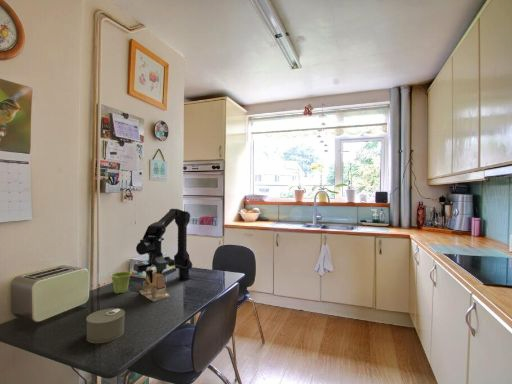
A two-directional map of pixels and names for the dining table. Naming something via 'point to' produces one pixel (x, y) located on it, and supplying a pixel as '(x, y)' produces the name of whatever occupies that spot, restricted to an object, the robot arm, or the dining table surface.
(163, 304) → the dining table surface
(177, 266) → the robot arm
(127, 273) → the plant pot
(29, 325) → the dining table surface
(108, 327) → the can
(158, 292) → the tan piece
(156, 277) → the orange tan rectangular block
